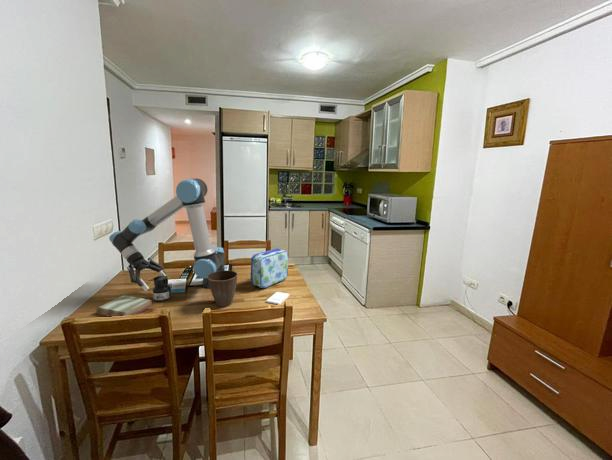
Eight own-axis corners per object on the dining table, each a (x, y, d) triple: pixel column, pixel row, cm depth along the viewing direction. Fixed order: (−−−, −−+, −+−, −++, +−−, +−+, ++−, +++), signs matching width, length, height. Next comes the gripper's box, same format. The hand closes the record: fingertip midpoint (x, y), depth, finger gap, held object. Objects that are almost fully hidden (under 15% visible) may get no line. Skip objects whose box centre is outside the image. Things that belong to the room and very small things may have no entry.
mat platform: (151, 305, 147) (151, 299, 147) (126, 320, 133) (125, 313, 133) (124, 300, 152) (123, 294, 152) (97, 314, 138) (96, 307, 138)
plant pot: (207, 311, 142) (205, 281, 139) (210, 298, 156) (209, 271, 153) (238, 309, 145) (237, 279, 142) (238, 296, 159) (237, 269, 156)
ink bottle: (149, 302, 151) (147, 281, 148) (156, 295, 159) (154, 275, 157) (169, 302, 152) (167, 280, 149) (174, 294, 160) (173, 274, 158)
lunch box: (278, 274, 193) (278, 244, 189) (290, 278, 187) (290, 247, 182) (249, 286, 173) (247, 253, 168) (261, 291, 166) (260, 257, 162)
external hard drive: (289, 296, 161) (279, 306, 150) (276, 294, 164) (265, 303, 153) (289, 293, 161) (279, 303, 150) (276, 291, 164) (265, 300, 153)
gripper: (147, 253, 168) (171, 280, 167) (108, 267, 145) (134, 298, 144) (154, 245, 166) (177, 273, 165) (114, 258, 142) (142, 290, 141)
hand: (157, 285), depth 154 cm, fingers open, 13 cm apart
